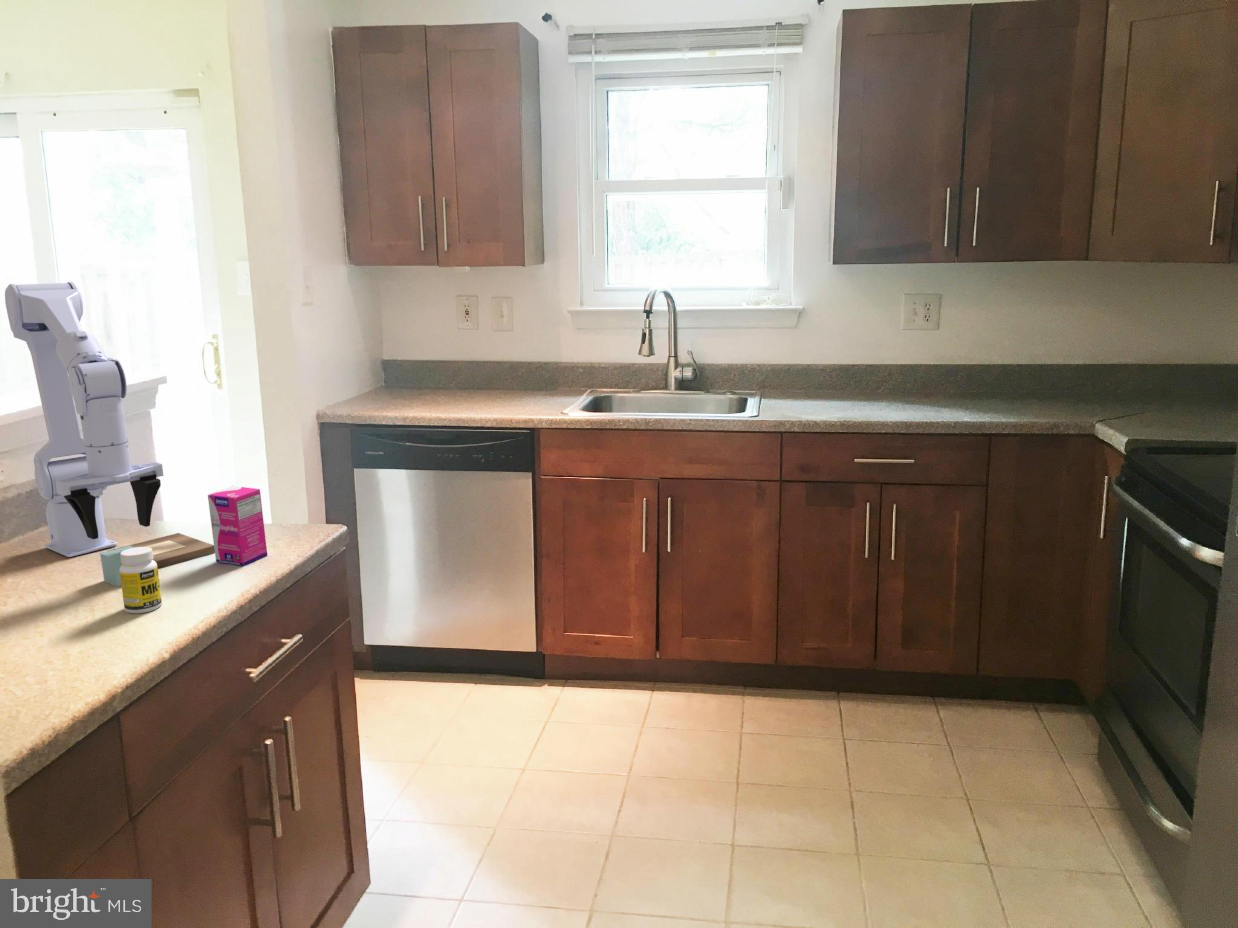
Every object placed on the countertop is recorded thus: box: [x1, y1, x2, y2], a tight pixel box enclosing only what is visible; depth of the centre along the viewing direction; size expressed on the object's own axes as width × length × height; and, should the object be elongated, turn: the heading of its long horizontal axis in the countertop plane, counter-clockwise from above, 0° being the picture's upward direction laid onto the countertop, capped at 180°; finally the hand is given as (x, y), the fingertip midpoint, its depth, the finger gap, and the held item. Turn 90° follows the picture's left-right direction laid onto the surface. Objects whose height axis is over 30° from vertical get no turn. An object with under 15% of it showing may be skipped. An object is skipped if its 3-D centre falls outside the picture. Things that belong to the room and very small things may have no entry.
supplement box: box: [207, 485, 268, 567], centre depth 151 cm, size 6×6×12 cm
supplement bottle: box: [119, 547, 163, 614], centre depth 131 cm, size 5×5×8 cm
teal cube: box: [100, 545, 135, 588], centre depth 143 cm, size 4×4×4 cm
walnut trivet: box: [108, 532, 215, 569], centre depth 155 cm, size 12×12×1 cm
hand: (119, 531), depth 142 cm, fingers open, 7 cm apart
